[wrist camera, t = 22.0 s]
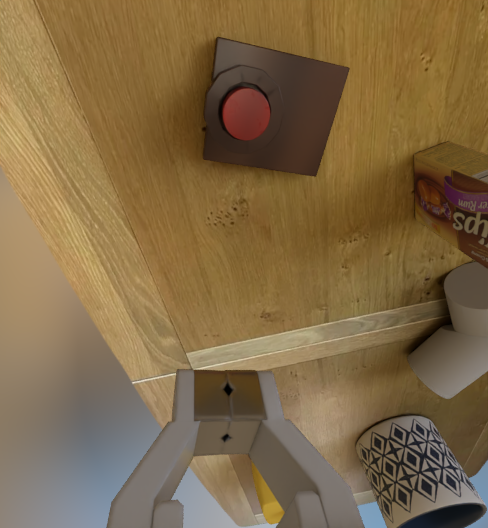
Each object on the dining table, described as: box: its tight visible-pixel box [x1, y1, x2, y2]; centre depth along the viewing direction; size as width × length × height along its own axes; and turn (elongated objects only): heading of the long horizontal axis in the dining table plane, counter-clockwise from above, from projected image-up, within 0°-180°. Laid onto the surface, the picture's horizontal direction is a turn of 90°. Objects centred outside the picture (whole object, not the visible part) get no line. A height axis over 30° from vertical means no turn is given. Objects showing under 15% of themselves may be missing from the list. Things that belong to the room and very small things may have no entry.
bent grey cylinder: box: [407, 262, 488, 399], centre depth 48 cm, size 18×10×20 cm
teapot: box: [252, 462, 285, 524], centre depth 66 cm, size 20×12×12 cm, turn 9°
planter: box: [356, 415, 487, 528], centre depth 65 cm, size 18×18×16 cm
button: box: [222, 87, 270, 140], centre depth 27 cm, size 4×4×2 cm
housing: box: [203, 37, 349, 176], centre depth 29 cm, size 12×10×4 cm
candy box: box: [414, 141, 488, 269], centre depth 31 cm, size 9×4×15 cm, turn 19°
